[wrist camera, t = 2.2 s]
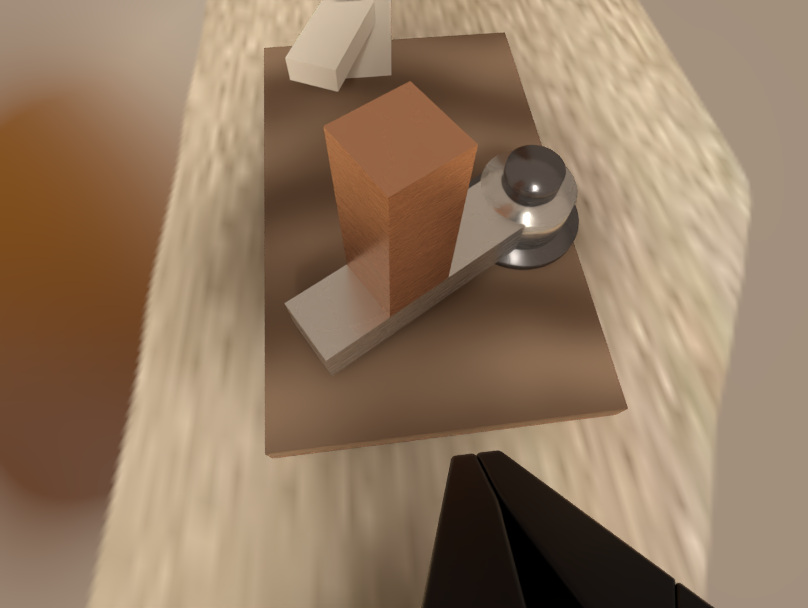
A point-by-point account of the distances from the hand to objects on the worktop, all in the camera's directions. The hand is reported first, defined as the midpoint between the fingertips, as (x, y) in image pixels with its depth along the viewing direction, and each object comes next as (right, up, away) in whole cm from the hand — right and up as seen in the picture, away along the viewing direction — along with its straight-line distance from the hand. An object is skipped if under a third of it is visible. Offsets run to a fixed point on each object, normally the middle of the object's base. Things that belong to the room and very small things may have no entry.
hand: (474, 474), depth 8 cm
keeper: (-5, +15, +19) cm, 25 cm away
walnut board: (-1, +8, +17) cm, 19 cm away
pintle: (+4, +7, +16) cm, 18 cm away
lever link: (+1, +5, +14) cm, 15 cm away
